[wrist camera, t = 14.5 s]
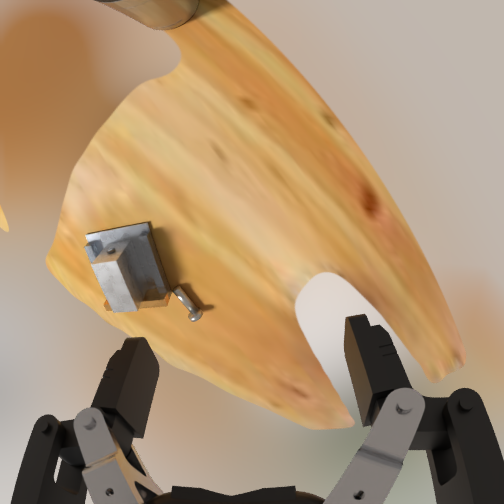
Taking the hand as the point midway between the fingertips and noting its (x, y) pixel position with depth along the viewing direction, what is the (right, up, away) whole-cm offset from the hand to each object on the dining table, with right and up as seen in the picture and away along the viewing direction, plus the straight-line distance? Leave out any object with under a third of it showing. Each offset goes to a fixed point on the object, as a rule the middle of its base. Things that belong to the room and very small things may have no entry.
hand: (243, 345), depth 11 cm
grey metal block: (-22, +1, +41) cm, 46 cm away
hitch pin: (-12, -5, +44) cm, 46 cm away
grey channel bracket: (-22, +1, +41) cm, 47 cm away
